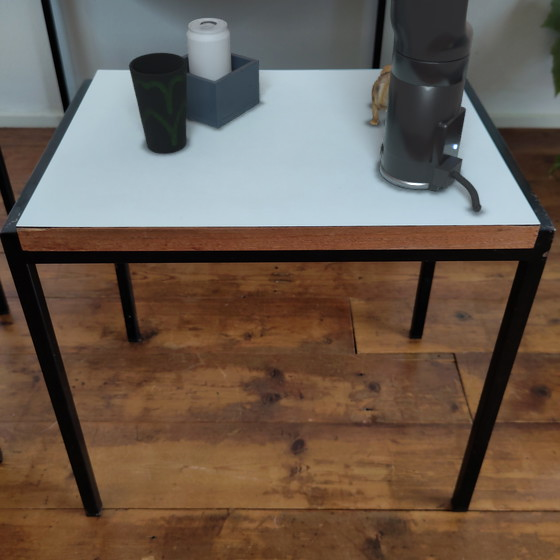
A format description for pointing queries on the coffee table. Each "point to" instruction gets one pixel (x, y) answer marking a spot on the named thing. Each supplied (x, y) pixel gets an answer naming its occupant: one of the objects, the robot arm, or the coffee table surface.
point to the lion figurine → (380, 93)
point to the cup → (161, 99)
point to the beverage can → (209, 48)
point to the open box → (223, 93)
